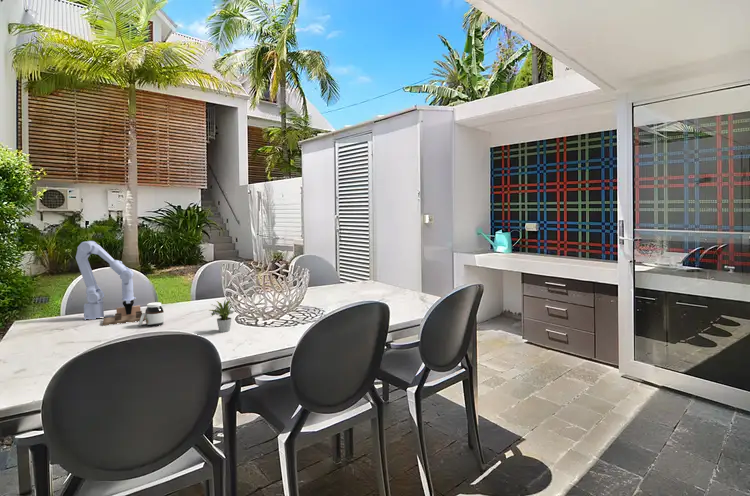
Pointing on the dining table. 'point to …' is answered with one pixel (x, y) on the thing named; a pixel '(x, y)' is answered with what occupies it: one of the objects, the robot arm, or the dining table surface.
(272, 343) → the dining table surface
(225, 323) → the house plant
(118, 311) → the orange brown rectangular block
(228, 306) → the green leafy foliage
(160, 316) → the spread jar
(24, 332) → the dining table surface
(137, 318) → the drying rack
